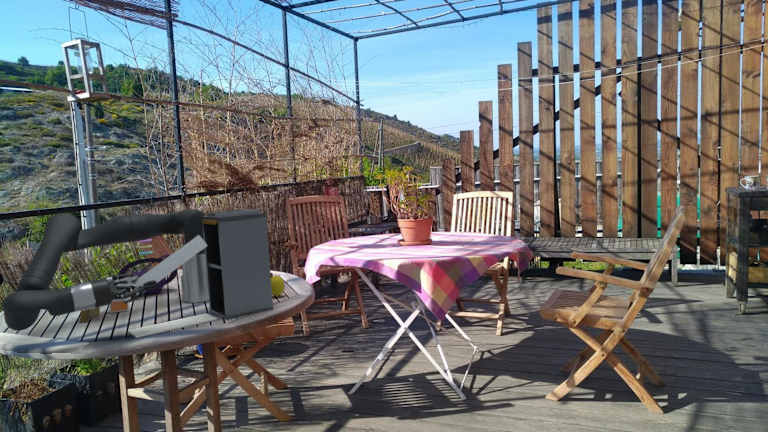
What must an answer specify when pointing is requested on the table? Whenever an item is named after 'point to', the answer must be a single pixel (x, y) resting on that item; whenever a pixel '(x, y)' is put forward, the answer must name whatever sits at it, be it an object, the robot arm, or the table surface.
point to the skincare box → (117, 303)
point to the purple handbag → (128, 266)
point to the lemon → (277, 285)
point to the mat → (171, 325)
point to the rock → (89, 314)
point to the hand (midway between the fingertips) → (154, 281)
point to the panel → (172, 261)
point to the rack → (237, 262)
